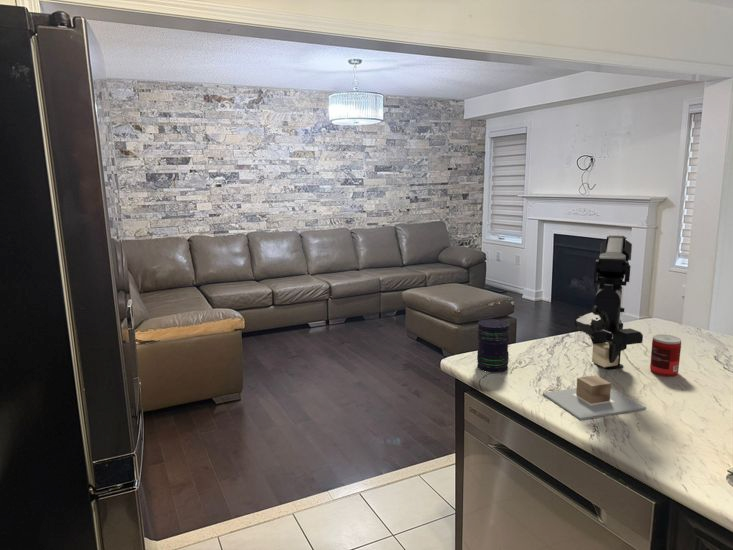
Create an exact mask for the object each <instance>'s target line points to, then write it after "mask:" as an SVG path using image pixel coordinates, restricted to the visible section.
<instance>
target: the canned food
mask: <svg viewBox="0 0 733 550" xmlns="http://www.w3.org/2000/svg"><path fill="white" fill-rule="evenodd" d="M681 349H682V339H681V338H680V337H677V336H676V335H675V336H674V335H671V334H664V333H663V334H662V333H661V334H660V333H659V334H655V335H653V336H652V341H651V351H650V353H651V354H650V365H649V370H650V371H651V372H652V373H653V374H655V375H657V374H658V376H661V375H662V377H675V376H677V375H678V373H679V368H680V358H681Z"/></svg>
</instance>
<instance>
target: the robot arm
mask: <svg viewBox="0 0 733 550" xmlns="http://www.w3.org/2000/svg"><path fill="white" fill-rule="evenodd" d="M632 249H633V244H632V242H630V241H629V240H627V236H624V235H619V234H618V235H616V234H615V235H614V234H613V235H612V234H609V235H607V236H606V239H604V241H602V242H601V243H600V251H599V252H600V253H599V257H598V259H595V264H594V274H593V275H594V276H593V281H592V283H593V284H596V285H597V284H598V285H597V292H596V295H595V297H594V304H595V305H593V307H592V308H591V312H589V313H586V314H584V315H578V316H577V317H576V318H575V321H574V327H577V328H578V329H577V330H578V331H579V332H581V333H583V334H585V335H587V336H589V338H590V340H591V343H592V345H593V344H598V343H606V342H607V343H608V344H609V362H610V363H614V361H615V360H616V358H617V357H618V355H619V357H618V365H616V366H609V367H602V366H600V365H598V364H596V363H594V364H595V365H597V366H600V367H602V368H604V369H606V370H613V369H619V368H624V365H623V364H621V353H622V351H623V352H624V350H627V347H628V345H635V344H636V345H637V344H643V340H644V339H643V338H644V334H643V333H642V332H641V331H639V330H636V329H633V328H630V327H628V328H624V322H622V321H621V313H625V307H622V296H623V286H625V287H626V286H627V283H630V280H631V279H630V277H631V264H630V262H629V261H632Z"/></svg>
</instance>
